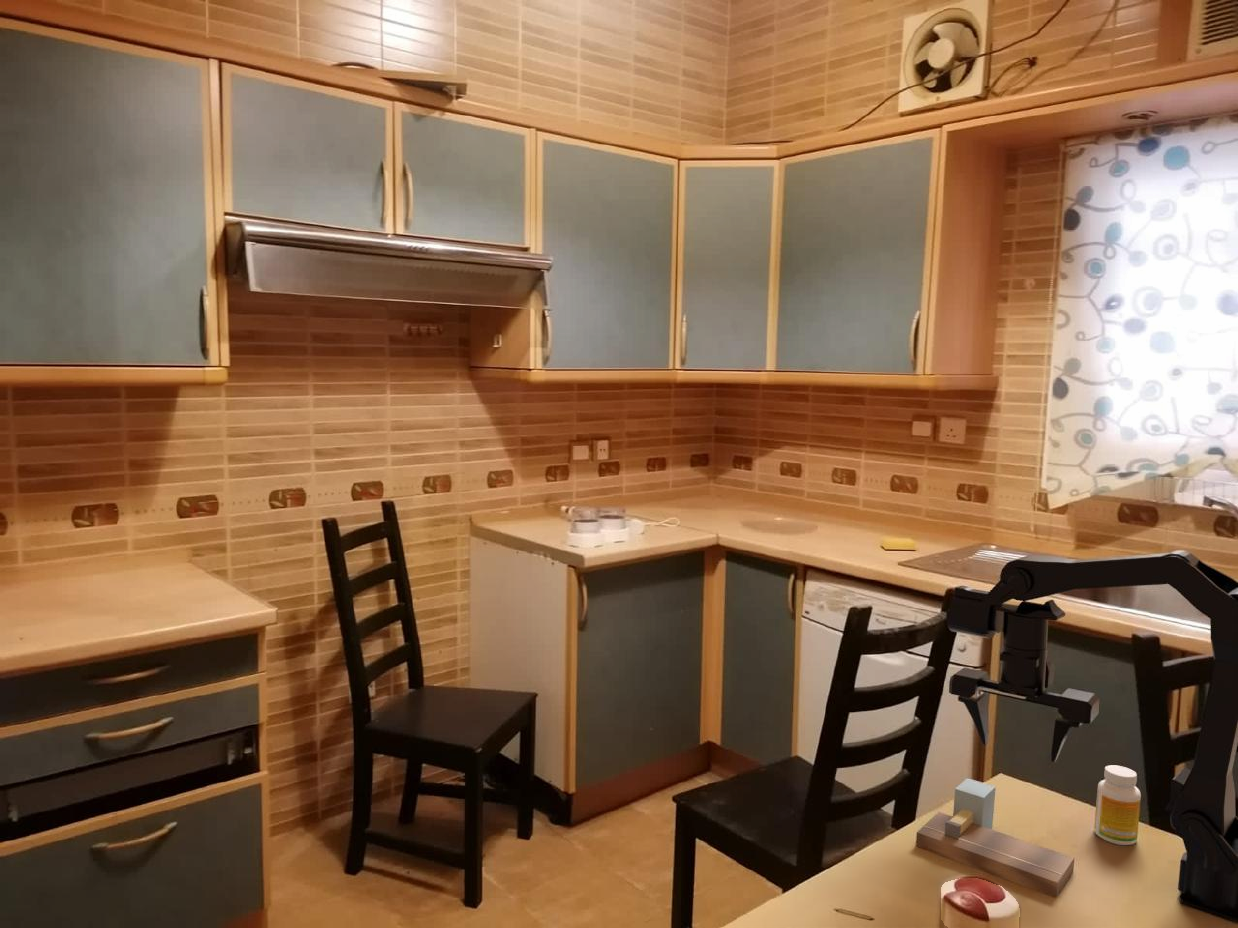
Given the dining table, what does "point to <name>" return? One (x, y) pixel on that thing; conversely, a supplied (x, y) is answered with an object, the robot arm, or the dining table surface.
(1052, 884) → the board
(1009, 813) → the dining table surface
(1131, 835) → the supplement bottle
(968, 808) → the light blue block
